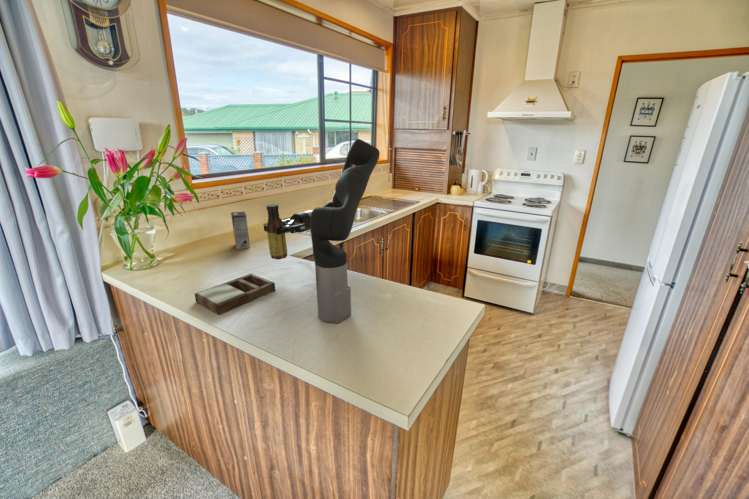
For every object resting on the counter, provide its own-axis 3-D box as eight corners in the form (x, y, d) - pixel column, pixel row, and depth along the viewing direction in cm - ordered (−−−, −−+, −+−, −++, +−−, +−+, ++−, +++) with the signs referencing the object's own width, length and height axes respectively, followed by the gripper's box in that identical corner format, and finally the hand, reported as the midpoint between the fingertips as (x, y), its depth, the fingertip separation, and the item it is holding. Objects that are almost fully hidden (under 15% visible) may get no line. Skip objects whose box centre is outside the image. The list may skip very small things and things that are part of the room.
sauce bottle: (280, 253, 131) (275, 202, 125) (291, 256, 128) (286, 204, 121) (266, 258, 126) (259, 205, 120) (277, 261, 123) (271, 207, 116)
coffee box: (235, 243, 170) (230, 212, 165) (248, 242, 173) (245, 211, 167) (236, 249, 162) (231, 216, 157) (250, 247, 165) (246, 215, 159)
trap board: (275, 290, 120) (274, 282, 119) (218, 314, 104) (217, 305, 103) (251, 280, 128) (250, 272, 127) (196, 301, 112) (194, 292, 111)
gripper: (292, 209, 137) (257, 217, 125) (318, 214, 129) (282, 222, 116) (294, 227, 140) (259, 236, 127) (319, 233, 131) (284, 243, 119)
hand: (270, 230), depth 122 cm, fingers closed on sauce bottle, 6 cm apart
